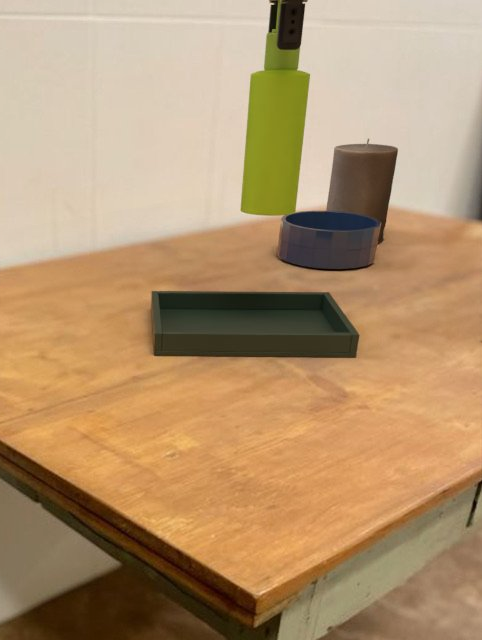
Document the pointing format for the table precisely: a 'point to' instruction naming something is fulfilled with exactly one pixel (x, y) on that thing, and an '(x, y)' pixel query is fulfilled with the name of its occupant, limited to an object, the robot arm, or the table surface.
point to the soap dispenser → (274, 132)
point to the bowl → (328, 239)
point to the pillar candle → (362, 180)
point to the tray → (250, 324)
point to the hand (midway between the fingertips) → (283, 47)
